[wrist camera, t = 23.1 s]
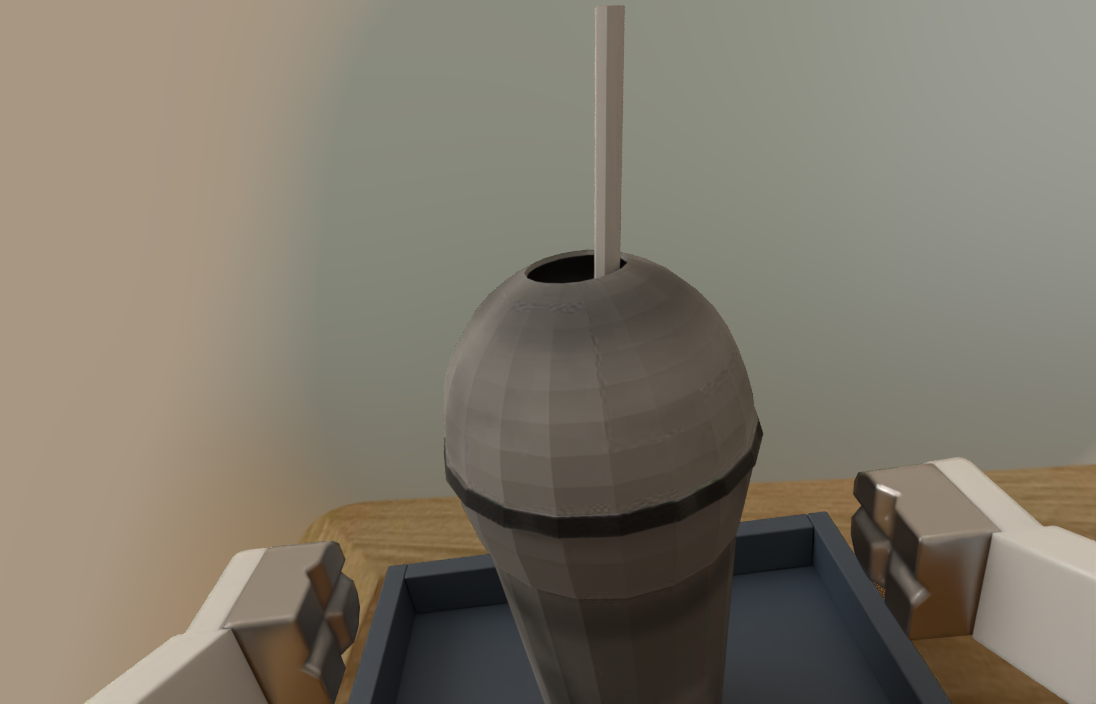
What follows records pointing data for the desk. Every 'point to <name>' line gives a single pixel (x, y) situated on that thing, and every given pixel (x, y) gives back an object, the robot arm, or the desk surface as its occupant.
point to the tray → (752, 644)
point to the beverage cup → (606, 453)
